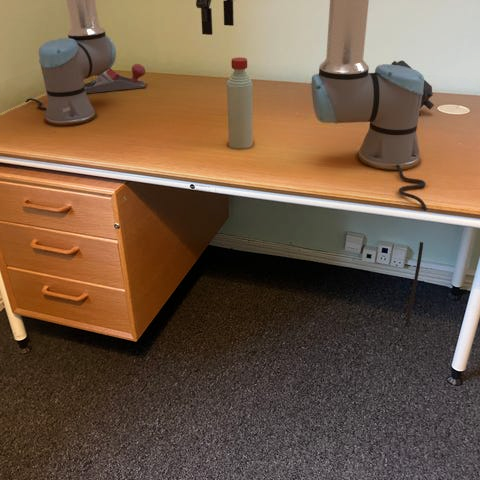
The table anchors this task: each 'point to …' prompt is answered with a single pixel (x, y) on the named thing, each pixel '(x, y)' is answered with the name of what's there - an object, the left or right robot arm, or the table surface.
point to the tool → (426, 88)
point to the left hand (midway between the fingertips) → (218, 29)
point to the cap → (239, 63)
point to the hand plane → (116, 81)
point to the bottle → (240, 110)
